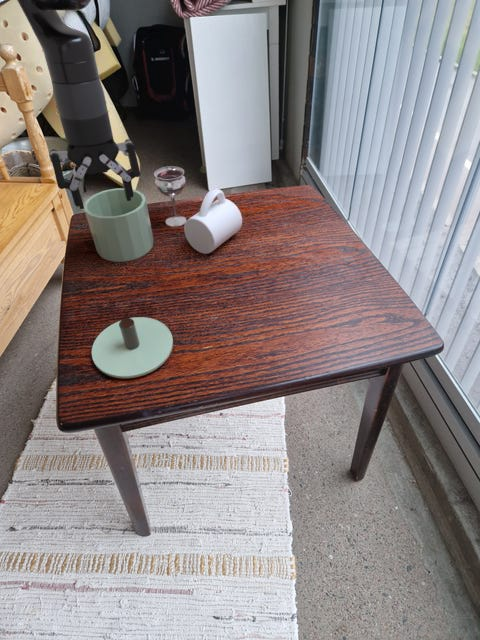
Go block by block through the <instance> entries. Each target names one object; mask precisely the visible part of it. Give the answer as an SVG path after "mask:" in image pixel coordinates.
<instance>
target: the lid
mask: <svg viewBox="0 0 480 640" xmlns="http://www.w3.org/2000/svg"><path fill="white" fill-rule="evenodd" d="M173 347H174V339H173V334H172V332H171V330H170V328H169V327H168V326H167V325H166V324H164V323H163V322H161V321H159V320H157V319H155V318H152V317H145V316H144V317H143V316H135V317H126V318H123V319H121V320H118V321H116V322H114V323H112V324H110V325H109V326H107V327H106V328H105V329H103V330H102V331H101V332H100V333H99V334H98V335H97V337H96V338H95V340H94V341H93V344H92V347H91V359H92V361H93V364H94V365H95V367H96V368H97V369H98V370H99V372H101V373H103V374H104V375H106V376H108V377H112V378H115V379H135V378H140V377H142V376H146V375H148V374H150V373H152V372H154V371H156V370H158V368H160V367H161V366H162V365H164V363H166V361H167V360H168V359H169V357H170V355H171V354H172V351H173Z"/></svg>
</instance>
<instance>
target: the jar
mask: <svg viewBox="0 0 480 640" xmlns="http://www.w3.org/2000/svg"><path fill="white" fill-rule="evenodd" d="M133 194H134V195H133V197H131V201H127V199H126V196H125V192H124V187H122V188H121V187H120V188H119V187H118V188H111V189H110V188H109V189H106V190H103V191H100V192H99V191H98V192H97V193H95V194H93V195H91V196H90V197H88V198H87V199H86V200H85V203H83V206H84V209H83V210H84V214H85V218H86V220H87V223H88V224H87V225H88V227H89V231H90V233H91V236H92V241H93V244H94V246H95V249H96V250H95V251H96V252H97V254H98V255H99V257H101V259H103V260H106V261H110V262H114V263H115V262H117V263H121V262H123V263H124V262H129V261H130V262H131V261H134V260H137V259H139V258H141V257H143V256H145V255H147V254H148V253H149V252H150V251H151V250H152V249H153V246H154V235H153V230H152V224H151V219H150V214H149V209H148V202H147V199H146V197H145V194H144V193H143V192H141V191H139V190H137V189H133Z"/></svg>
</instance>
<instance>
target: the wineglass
mask: <svg viewBox="0 0 480 640" xmlns="http://www.w3.org/2000/svg"><path fill="white" fill-rule="evenodd" d="M184 174H185V170H184V169H183V168H182V167H179V166H173V165H171V166H170V165H168V166H163V167H160V168H158V169H156V170H155V171H154V173H153V175H154V177H155V180H154V185H155V187H156V189H157V190H158V192H159V193H161V194H162V195H164V196H166V197H169V198H170V199H171V200H170V201H171V205H172V210H173V215H172V216H169V217H168V218H166V220H165V224H166V225H167V226H169V227H182V226H183V225H185V222H186V221H187V218H186V217H185V216H183V215H177V212H176V211H177V210H176V209H177V208H176V201H175V198H176V196H178V195H180V194H181V193H182V192H183V190H185V188H186V183H187V182H186V177H185V175H184Z"/></svg>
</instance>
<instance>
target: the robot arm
mask: <svg viewBox="0 0 480 640" xmlns="http://www.w3.org/2000/svg"><path fill="white" fill-rule="evenodd" d="M16 1H17V3H18V4H19V6H20V8H21V10H22V13H23V14H24V16H25V18H26V20H27V22H28V24H29V26H30V27H31V29H32V31H33V34H34V35H35V37H36V39H37V42H38V43H39V45H40V47H41V49H42V52H43V55H44V59H45V62H46V66H47V70H48V72H49V77H50V80H51V84H52V91H53V98H54V101H55V106H56V109H57V112H58V115H59V119H60V122H61V126H62V130H63V134H64V136H65V140H66V144H67V148H66V150H59V151H58V150H57V149H55V148H53V149H51V150H50V151H49V155H50V160H51V164H52V168H53V172H54V176H55V179H56V184H57V187H58V189H60V190H65V189H66V190H69V191H70V193H71V196H72V200H73V203H74V206H76V207H79V209H80V210H84V202H83V198H82V195H81V192H80V191H81V190H80V187H79V186H80V183H81V182H82V181H83V179H84V177H85V175H86V174H88V175H89V176H92V175H96V174H98V173H102V174H103V173H108V171H110V170H111V171H112V172H113V173H114V174H116V175H117V176H119V177H120V178H121V181H122V188H124V192H125V196H126V199H127V201H131V197H133V195H134V194H133V190H134V189H133V185H132V180H134V179H135V178H139V177H141V170H140V166H139V160H138V158H137V153H136V148H135V145H134V144H133V142H132V140H131V139H128V138H127V139H125V140H124V142H119V143H117V142H115V139H114V135H113V129H112V125H111V120H110V115H109V110H108V106H107V100H106V96H105V91H104V89H103V85H102V82H101V79H100V76H99V71H98V65H97V60H96V55H95V51H94V47H93V43H92V40H91V37H90V35H88V34H87V33H86V32H84V31H82V30H78V29H76V28H73V27H70V26H68V25H67V24H65V22H64V21H63V19H62V17H61V16H60V14H59V13H58V11H68V12H70V11H71V12H76V11H81V10H83V9H85V8H86V7H88V6H89V4H90V3H91V1H92V0H16ZM119 152H122V154H123V155H124V156H125V157H127V158H128V162H129V166H130V168H128V169H126V168H125V167H124V166H123V165H122V164H121V163H120V162H119V161H118V160H117V157H118V155H119ZM67 159H68V160H69V161H71V162H72V163H73V164H74V167H73V169H72V173H71V175H70V177H69V178H65V177H64V173H63V169H62V168H63V167H62V166H65V164H66V160H67Z"/></svg>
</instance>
